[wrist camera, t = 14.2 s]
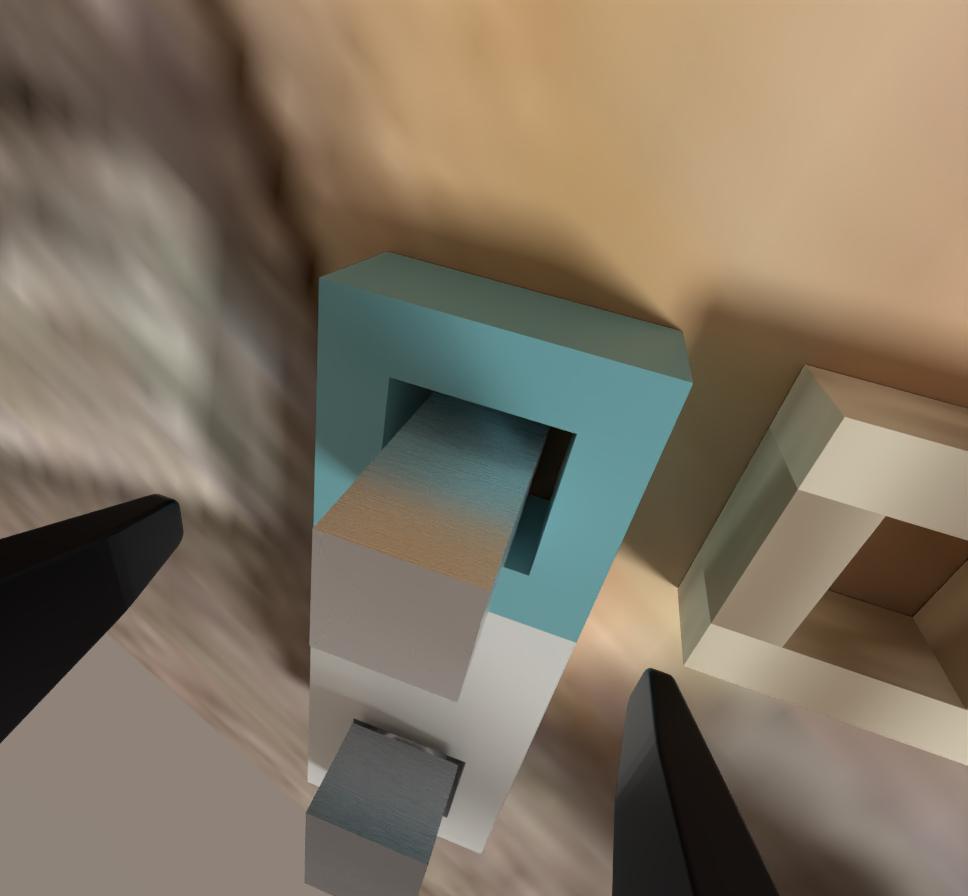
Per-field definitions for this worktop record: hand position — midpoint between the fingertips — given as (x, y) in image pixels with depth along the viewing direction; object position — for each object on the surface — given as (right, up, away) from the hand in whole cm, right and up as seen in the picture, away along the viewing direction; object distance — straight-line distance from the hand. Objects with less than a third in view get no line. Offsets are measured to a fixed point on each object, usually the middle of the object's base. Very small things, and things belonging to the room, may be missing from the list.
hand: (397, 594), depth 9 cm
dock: (0, -3, +11) cm, 11 cm away
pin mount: (+12, 0, +5) cm, 13 cm away
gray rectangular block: (-1, -8, +14) cm, 16 cm away
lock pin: (+2, +3, +6) cm, 8 cm away
